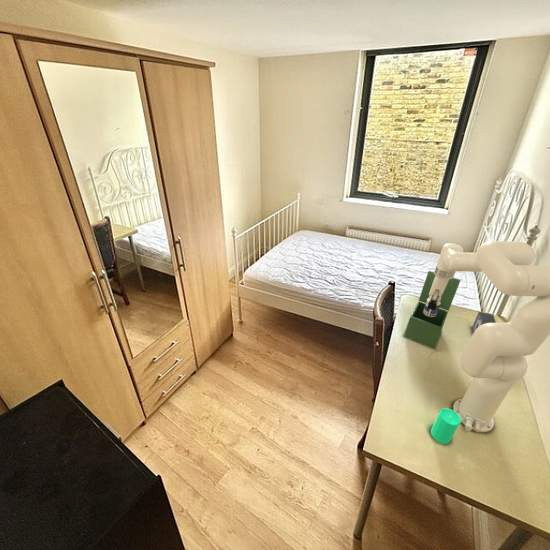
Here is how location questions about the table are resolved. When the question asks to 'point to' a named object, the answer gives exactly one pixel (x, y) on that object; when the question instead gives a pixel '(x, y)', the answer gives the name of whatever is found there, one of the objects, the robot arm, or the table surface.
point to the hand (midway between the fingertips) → (432, 305)
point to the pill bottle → (428, 311)
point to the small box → (483, 320)
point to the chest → (425, 326)
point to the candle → (445, 425)
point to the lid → (447, 294)
